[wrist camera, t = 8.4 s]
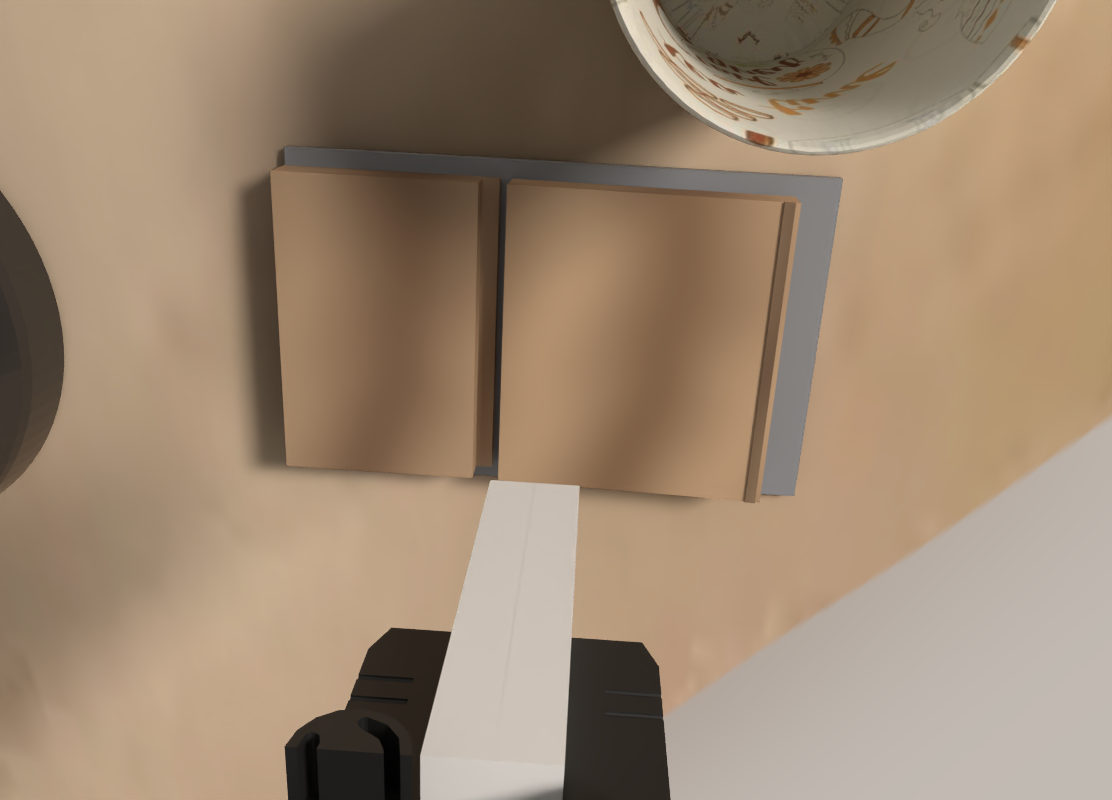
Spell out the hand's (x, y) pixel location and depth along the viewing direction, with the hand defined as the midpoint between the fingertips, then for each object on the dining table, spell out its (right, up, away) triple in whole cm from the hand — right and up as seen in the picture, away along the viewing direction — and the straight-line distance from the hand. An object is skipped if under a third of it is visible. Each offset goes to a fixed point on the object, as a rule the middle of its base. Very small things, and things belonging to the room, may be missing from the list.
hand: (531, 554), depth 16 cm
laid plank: (-5, +5, +13) cm, 15 cm away
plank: (+3, +5, +12) cm, 14 cm away
